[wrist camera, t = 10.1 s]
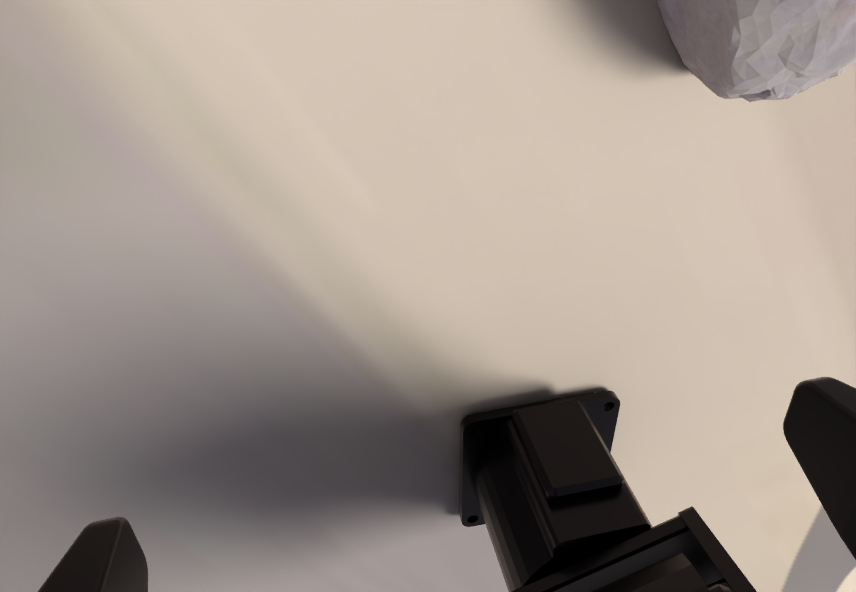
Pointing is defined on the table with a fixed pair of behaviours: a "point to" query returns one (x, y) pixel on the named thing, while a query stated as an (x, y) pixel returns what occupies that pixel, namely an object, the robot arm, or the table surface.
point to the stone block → (762, 43)
